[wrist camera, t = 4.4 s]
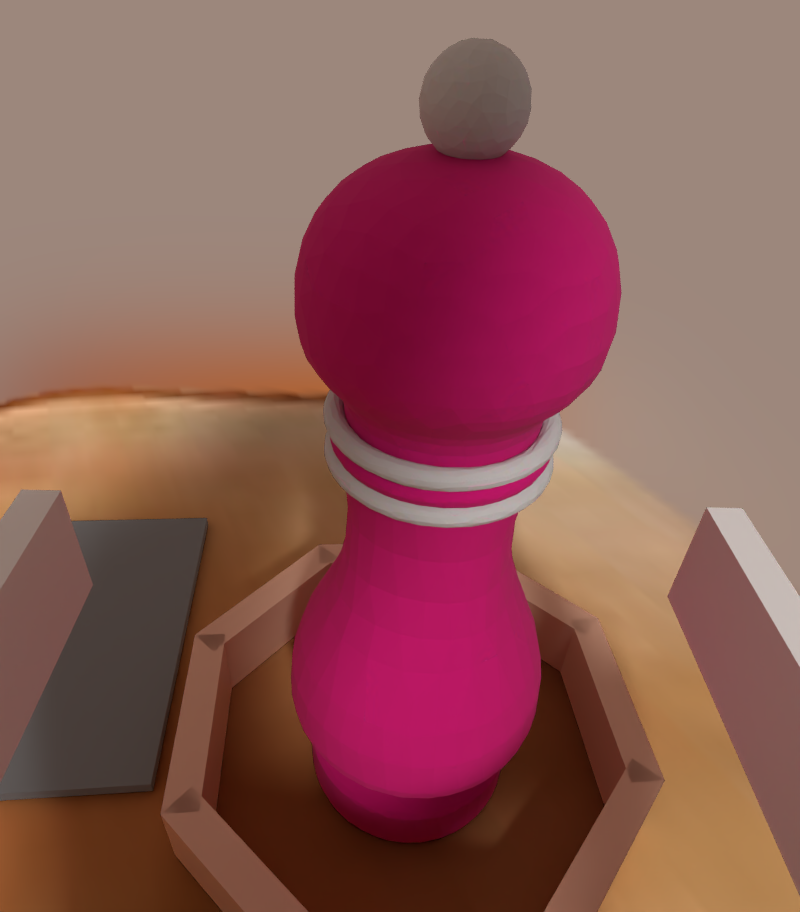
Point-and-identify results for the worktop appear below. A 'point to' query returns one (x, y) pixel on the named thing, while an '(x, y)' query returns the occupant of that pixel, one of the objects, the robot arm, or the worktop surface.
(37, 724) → the mat
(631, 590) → the worktop surface
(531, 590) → the octagonal frame ring
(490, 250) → the pepper mill
